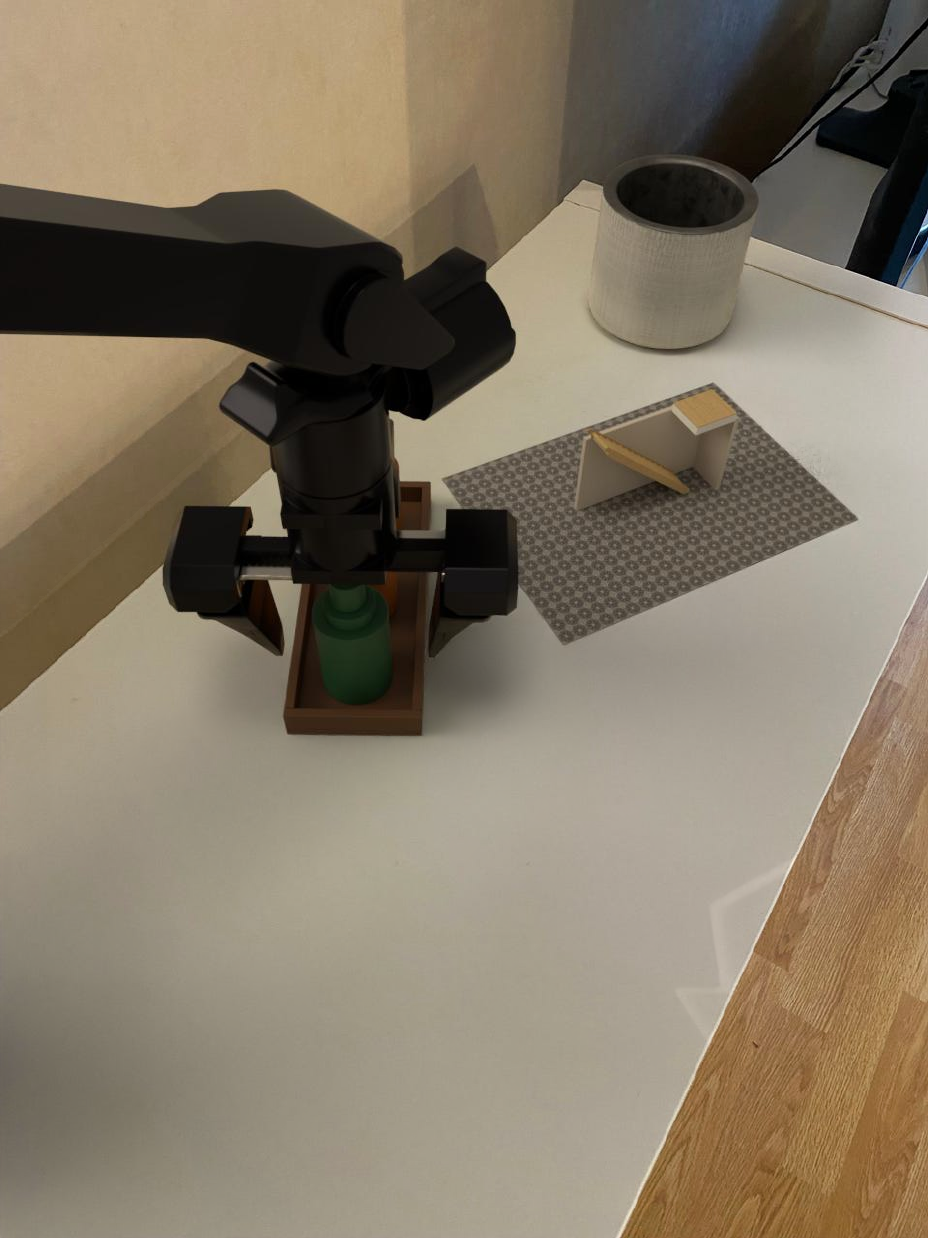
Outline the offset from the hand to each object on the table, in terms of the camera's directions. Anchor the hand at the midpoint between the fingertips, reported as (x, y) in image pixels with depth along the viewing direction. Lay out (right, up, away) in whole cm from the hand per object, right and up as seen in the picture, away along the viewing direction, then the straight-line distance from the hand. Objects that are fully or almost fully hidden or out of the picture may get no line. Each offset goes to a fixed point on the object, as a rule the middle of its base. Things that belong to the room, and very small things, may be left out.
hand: (356, 650), depth 62 cm
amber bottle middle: (0, +3, +6) cm, 6 cm away
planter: (+24, +29, +28) cm, 46 cm away
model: (+20, +11, +13) cm, 26 cm away
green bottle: (0, -2, +2) cm, 3 cm away
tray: (0, +3, +6) cm, 7 cm away
